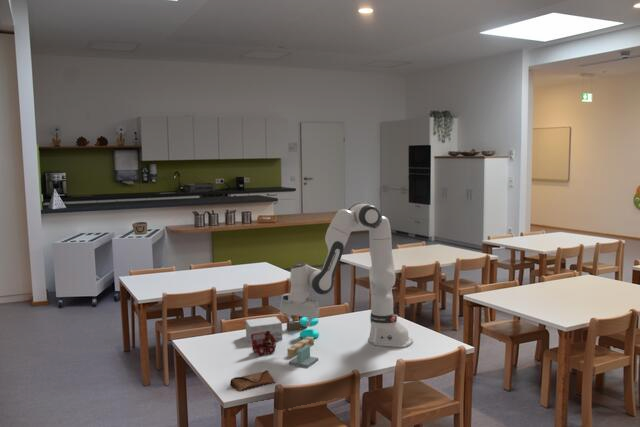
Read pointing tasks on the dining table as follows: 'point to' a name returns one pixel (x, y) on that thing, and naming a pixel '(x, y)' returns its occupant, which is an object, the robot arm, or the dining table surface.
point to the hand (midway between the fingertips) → (299, 324)
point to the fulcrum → (303, 358)
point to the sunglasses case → (251, 381)
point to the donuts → (309, 332)
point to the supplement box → (264, 327)
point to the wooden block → (295, 324)
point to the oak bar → (300, 346)
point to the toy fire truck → (263, 343)
